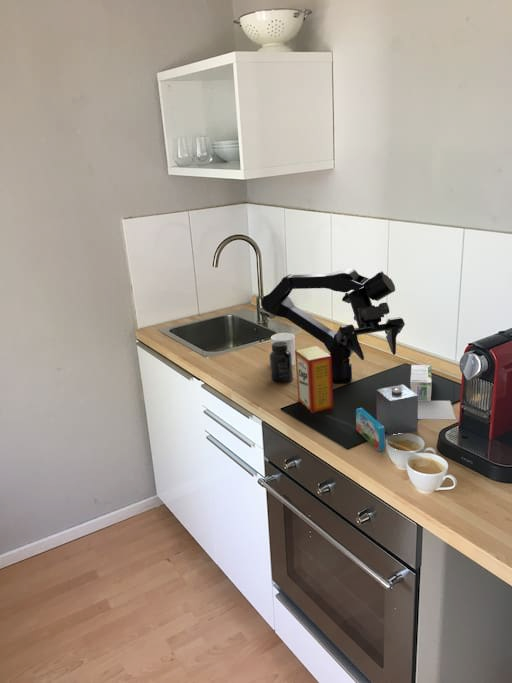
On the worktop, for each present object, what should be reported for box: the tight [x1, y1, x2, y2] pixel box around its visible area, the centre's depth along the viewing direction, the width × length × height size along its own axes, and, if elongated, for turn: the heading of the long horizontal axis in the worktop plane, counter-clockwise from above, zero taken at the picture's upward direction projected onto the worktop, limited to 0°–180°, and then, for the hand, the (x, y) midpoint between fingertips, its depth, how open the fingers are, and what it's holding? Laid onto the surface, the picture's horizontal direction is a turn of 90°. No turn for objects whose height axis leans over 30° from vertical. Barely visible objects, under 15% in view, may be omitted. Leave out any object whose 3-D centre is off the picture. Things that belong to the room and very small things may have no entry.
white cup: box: [270, 332, 296, 367], centre depth 192 cm, size 8×8×10 cm
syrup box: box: [409, 364, 433, 401], centre depth 163 cm, size 6×6×14 cm
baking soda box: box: [295, 345, 334, 413], centre depth 160 cm, size 10×6×16 cm
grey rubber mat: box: [418, 400, 457, 420], centre depth 152 cm, size 11×11×1 cm
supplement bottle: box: [269, 342, 294, 384], centre depth 179 cm, size 7×7×12 cm
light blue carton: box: [355, 407, 386, 452], centre depth 140 cm, size 12×2×6 cm, turn 17°
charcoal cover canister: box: [375, 384, 419, 437], centre depth 143 cm, size 7×7×11 cm
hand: (379, 356), depth 158 cm, fingers open, 9 cm apart
